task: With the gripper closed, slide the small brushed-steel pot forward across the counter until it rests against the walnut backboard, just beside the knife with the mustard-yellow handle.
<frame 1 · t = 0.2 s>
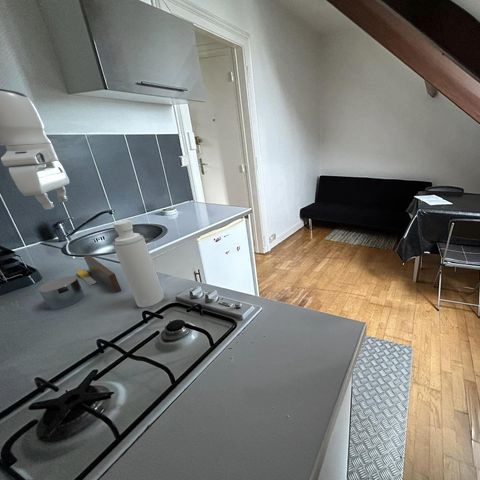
hand: (57, 205, 77), 26 cm above the worktop, tool pointing down, fingers open, 8 cm apart
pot: (67, 300, 76), on the worktop
backboard: (104, 280, 86), on the worktop
white bottle: (151, 300, 74), on the worktop
knife: (86, 277, 89), on the worktop
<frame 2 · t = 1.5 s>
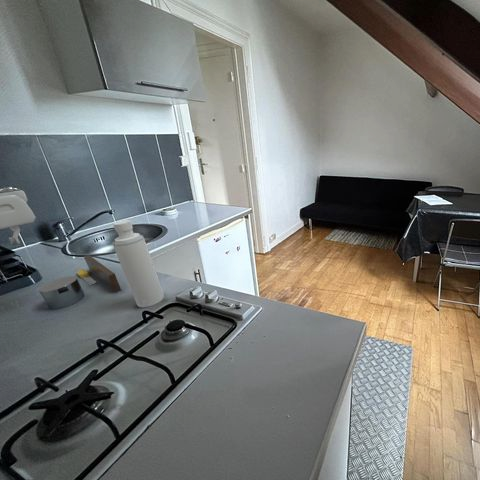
nothing on the worktop moved.
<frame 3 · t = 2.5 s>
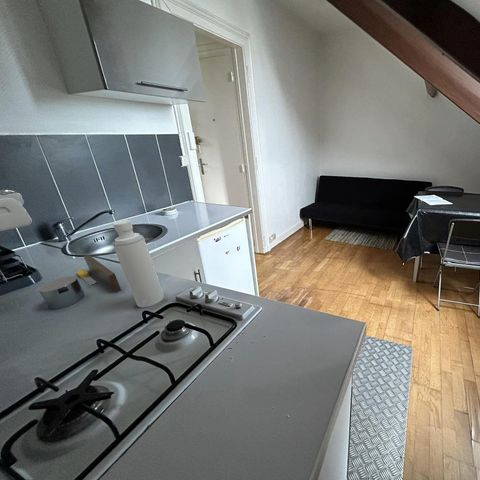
nothing on the worktop moved.
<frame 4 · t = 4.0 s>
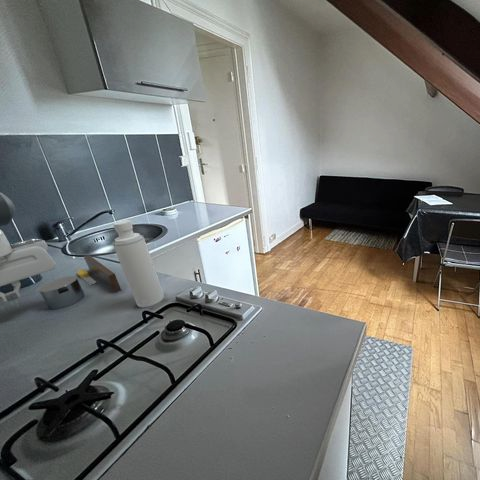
hand: (13, 299, 67), 6 cm above the worktop, tool pointing down, fingers closed
nothing on the worktop moved.
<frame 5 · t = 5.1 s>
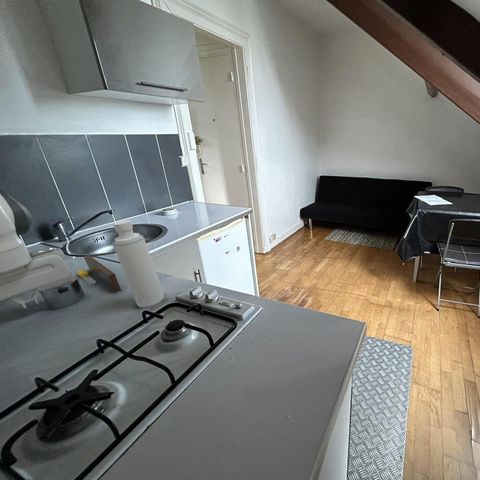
hand: (31, 305, 70), 3 cm above the worktop, tool pointing down, fingers closed
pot: (67, 300, 76), on the worktop, touching gripper
everything else where it was.
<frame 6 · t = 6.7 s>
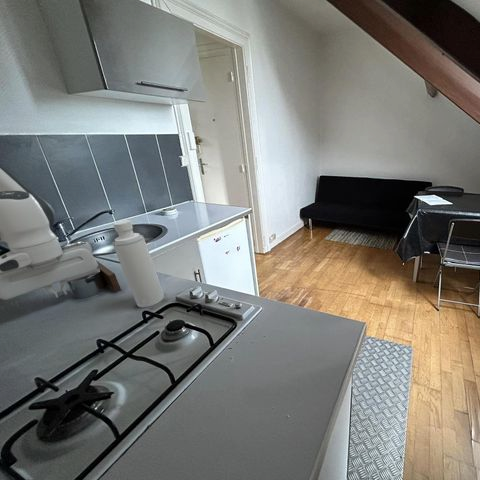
hand: (61, 295, 75), 2 cm above the worktop, tool pointing down, fingers closed
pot: (91, 291, 80), on the worktop, touching backboard, gripper
everything else where it was.
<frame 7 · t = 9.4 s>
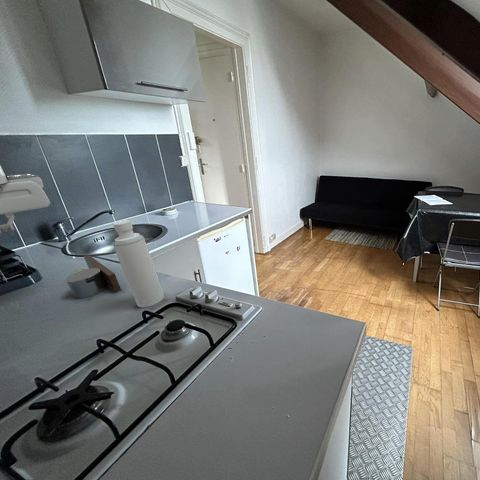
hand: (6, 231, 68), 22 cm above the worktop, tool pointing down, fingers closed
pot: (91, 291, 80), on the worktop
everything else where it was.
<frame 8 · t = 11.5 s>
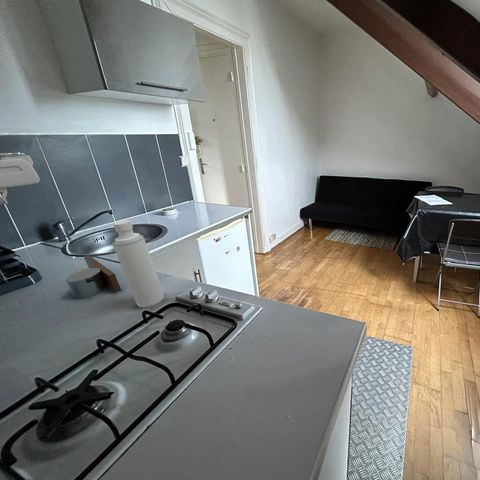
hand: (0, 204, 75), 27 cm above the worktop, tool pointing down, fingers closed
nothing on the worktop moved.
at the end: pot 0.2 cm from the target spot, on the worktop; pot moved 5.8 cm from its start; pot tilted 0° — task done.
